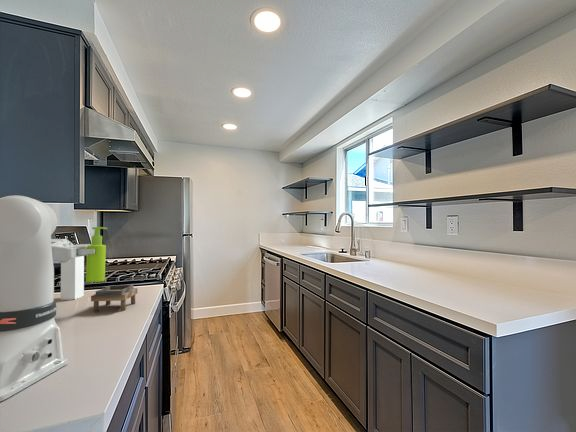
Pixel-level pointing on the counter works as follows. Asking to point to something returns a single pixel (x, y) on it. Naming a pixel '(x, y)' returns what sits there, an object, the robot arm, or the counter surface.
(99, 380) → the counter surface
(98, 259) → the soap dispenser
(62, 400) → the counter surface
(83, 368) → the counter surface
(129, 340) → the counter surface
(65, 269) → the milk
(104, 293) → the stool
